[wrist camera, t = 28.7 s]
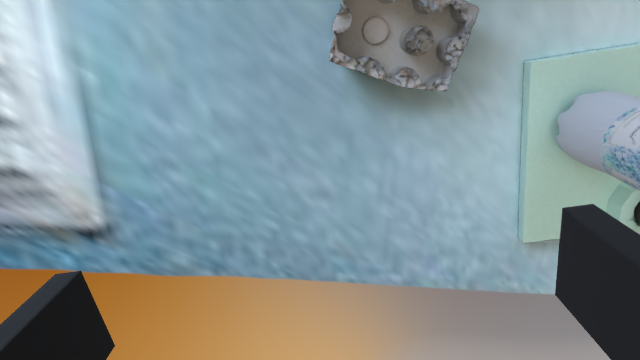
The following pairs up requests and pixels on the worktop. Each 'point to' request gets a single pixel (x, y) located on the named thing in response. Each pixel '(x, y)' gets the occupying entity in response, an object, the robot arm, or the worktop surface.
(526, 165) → the scale
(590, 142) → the bottle
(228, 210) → the worktop surface
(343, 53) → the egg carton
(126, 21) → the worktop surface
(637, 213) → the button
